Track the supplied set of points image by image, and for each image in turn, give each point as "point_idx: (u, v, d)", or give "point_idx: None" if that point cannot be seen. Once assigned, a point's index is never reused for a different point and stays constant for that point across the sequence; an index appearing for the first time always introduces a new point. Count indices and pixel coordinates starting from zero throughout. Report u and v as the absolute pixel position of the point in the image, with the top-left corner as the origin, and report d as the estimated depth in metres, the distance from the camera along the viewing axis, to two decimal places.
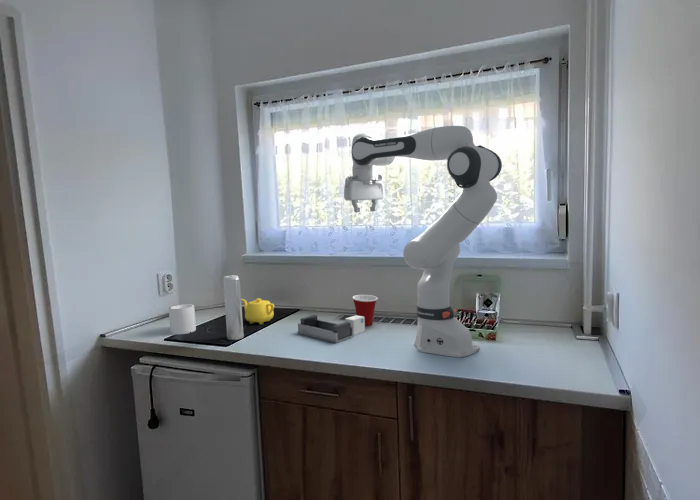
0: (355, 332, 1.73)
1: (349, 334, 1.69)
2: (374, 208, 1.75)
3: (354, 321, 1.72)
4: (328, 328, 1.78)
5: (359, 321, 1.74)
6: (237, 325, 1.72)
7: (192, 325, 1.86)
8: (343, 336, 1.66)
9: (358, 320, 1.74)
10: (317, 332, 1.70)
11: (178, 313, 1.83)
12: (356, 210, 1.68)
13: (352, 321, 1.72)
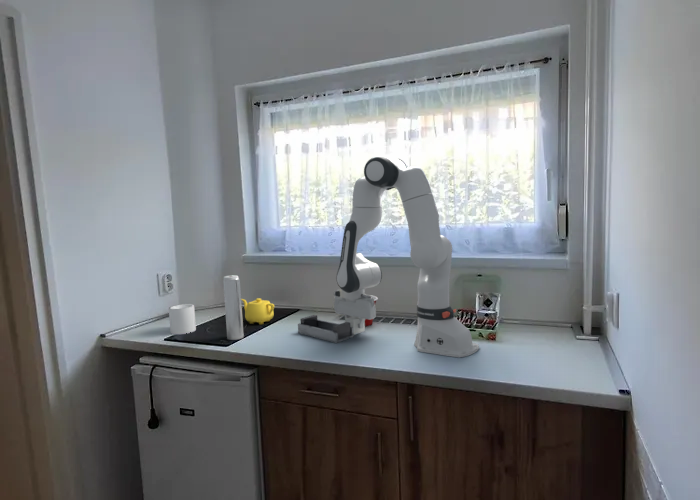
0: (355, 332, 1.73)
1: (349, 334, 1.69)
2: None
3: (354, 321, 1.72)
4: (328, 328, 1.78)
5: (359, 321, 1.74)
6: (237, 325, 1.72)
7: (192, 325, 1.86)
8: (343, 336, 1.66)
9: (358, 320, 1.74)
10: (317, 332, 1.70)
11: (178, 313, 1.83)
12: (362, 326, 1.74)
13: (352, 321, 1.72)
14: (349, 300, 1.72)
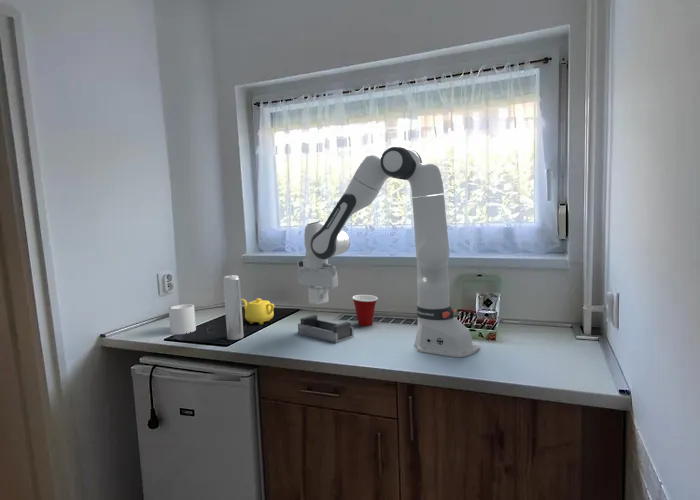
0: (318, 302, 1.71)
1: (349, 334, 1.69)
2: None
3: (317, 290, 1.71)
4: (328, 328, 1.78)
5: (322, 291, 1.73)
6: (237, 325, 1.72)
7: (192, 325, 1.86)
8: (343, 336, 1.66)
9: (321, 290, 1.72)
10: (317, 332, 1.70)
11: (178, 313, 1.83)
12: (325, 296, 1.72)
13: (315, 290, 1.71)
14: (312, 270, 1.71)
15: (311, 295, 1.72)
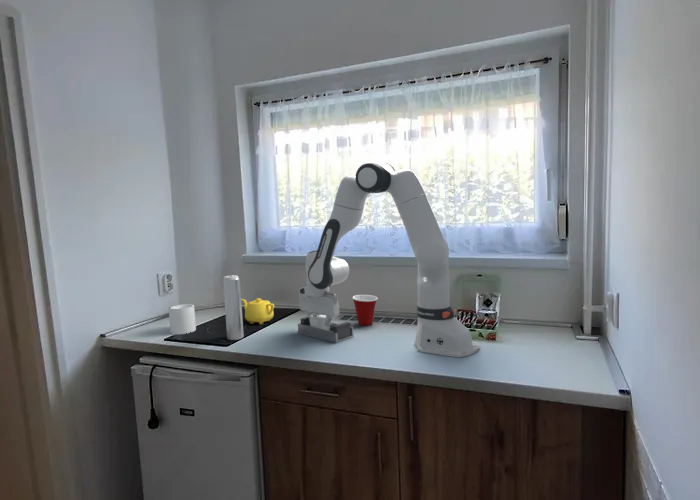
0: None
1: (349, 334, 1.69)
2: None
3: (318, 320, 1.72)
4: None
5: (324, 321, 1.74)
6: (237, 325, 1.72)
7: (192, 325, 1.86)
8: (343, 336, 1.66)
9: (322, 319, 1.73)
10: (317, 332, 1.70)
11: (178, 313, 1.83)
12: (329, 324, 1.72)
13: (316, 320, 1.72)
14: (313, 297, 1.72)
15: (313, 325, 1.73)
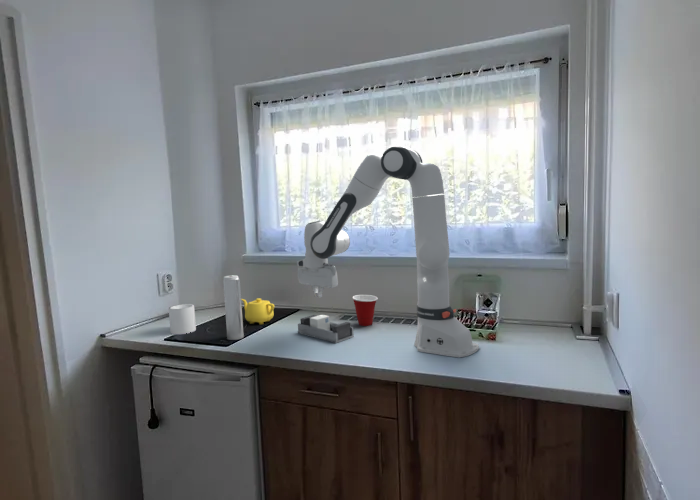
0: None
1: (349, 334, 1.69)
2: None
3: (318, 320, 1.72)
4: None
5: (324, 321, 1.74)
6: (237, 325, 1.72)
7: (192, 325, 1.86)
8: (343, 336, 1.66)
9: (322, 319, 1.73)
10: (317, 332, 1.70)
11: (178, 313, 1.83)
12: (321, 295, 1.74)
13: (316, 320, 1.72)
14: (311, 269, 1.71)
15: (313, 325, 1.73)
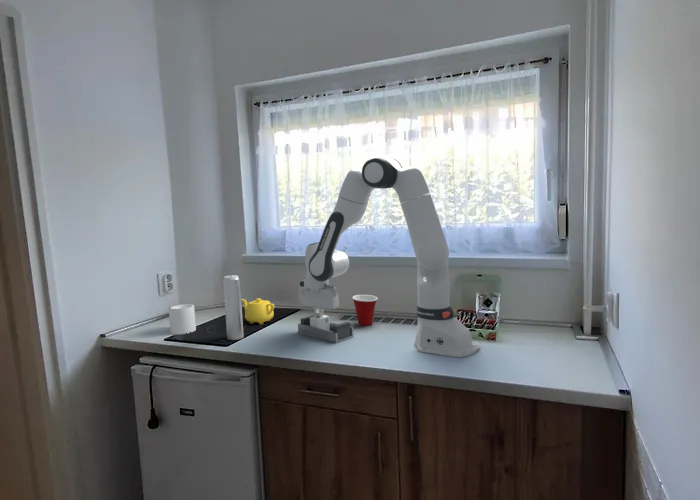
0: None
1: (349, 334, 1.69)
2: None
3: (318, 320, 1.72)
4: None
5: (324, 321, 1.74)
6: (237, 325, 1.72)
7: (192, 325, 1.86)
8: (343, 336, 1.66)
9: (322, 319, 1.73)
10: (317, 332, 1.70)
11: (178, 313, 1.83)
12: (322, 315, 1.74)
13: (316, 320, 1.72)
14: (312, 290, 1.71)
15: (313, 325, 1.73)
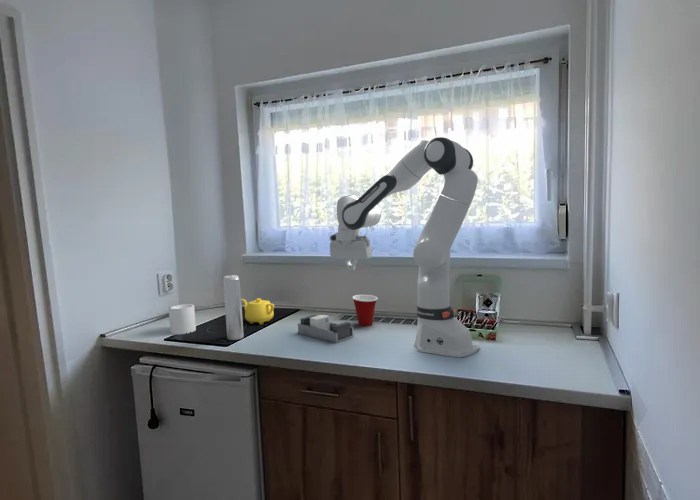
0: None
1: (349, 334, 1.69)
2: None
3: (318, 320, 1.72)
4: None
5: (324, 321, 1.74)
6: (237, 325, 1.72)
7: (192, 325, 1.86)
8: (343, 336, 1.66)
9: (322, 319, 1.73)
10: (317, 332, 1.70)
11: (178, 313, 1.83)
12: (354, 267, 1.78)
13: (316, 320, 1.72)
14: (345, 242, 1.75)
15: (313, 325, 1.73)
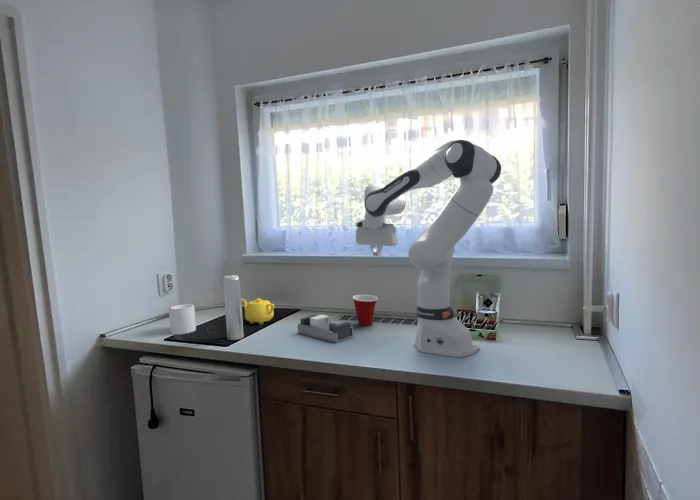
0: None
1: (349, 334, 1.69)
2: None
3: (318, 320, 1.72)
4: None
5: (324, 321, 1.74)
6: (237, 325, 1.72)
7: (192, 325, 1.86)
8: (343, 336, 1.66)
9: (322, 319, 1.73)
10: (317, 332, 1.70)
11: (178, 313, 1.83)
12: (379, 254, 1.83)
13: (316, 320, 1.72)
14: (371, 229, 1.80)
15: (313, 325, 1.73)
